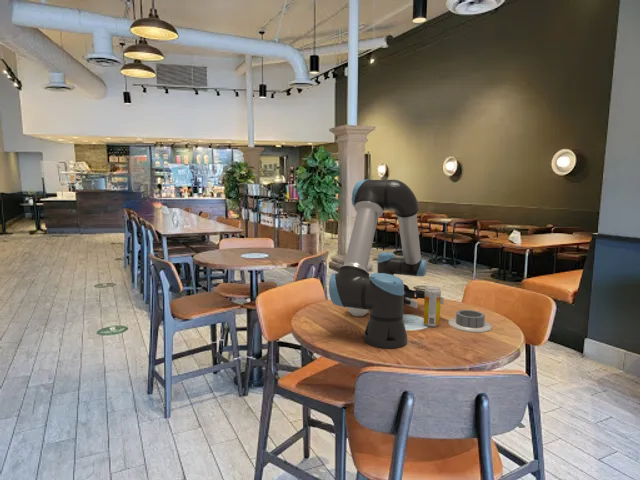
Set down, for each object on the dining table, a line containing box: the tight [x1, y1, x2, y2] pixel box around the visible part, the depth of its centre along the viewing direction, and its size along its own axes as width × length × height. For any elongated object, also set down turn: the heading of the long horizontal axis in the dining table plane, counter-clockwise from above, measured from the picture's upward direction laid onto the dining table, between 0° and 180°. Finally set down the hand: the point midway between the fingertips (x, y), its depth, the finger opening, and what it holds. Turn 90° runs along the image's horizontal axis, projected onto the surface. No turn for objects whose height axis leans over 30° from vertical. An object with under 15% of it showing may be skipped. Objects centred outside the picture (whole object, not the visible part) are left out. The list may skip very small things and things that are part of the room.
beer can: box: [423, 285, 442, 328], centre depth 166 cm, size 6×6×15 cm
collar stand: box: [448, 309, 493, 333], centre depth 166 cm, size 16×16×5 cm
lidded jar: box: [346, 307, 370, 317], centre depth 180 cm, size 11×11×9 cm
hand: (430, 302), depth 168 cm, fingers open, 13 cm apart
